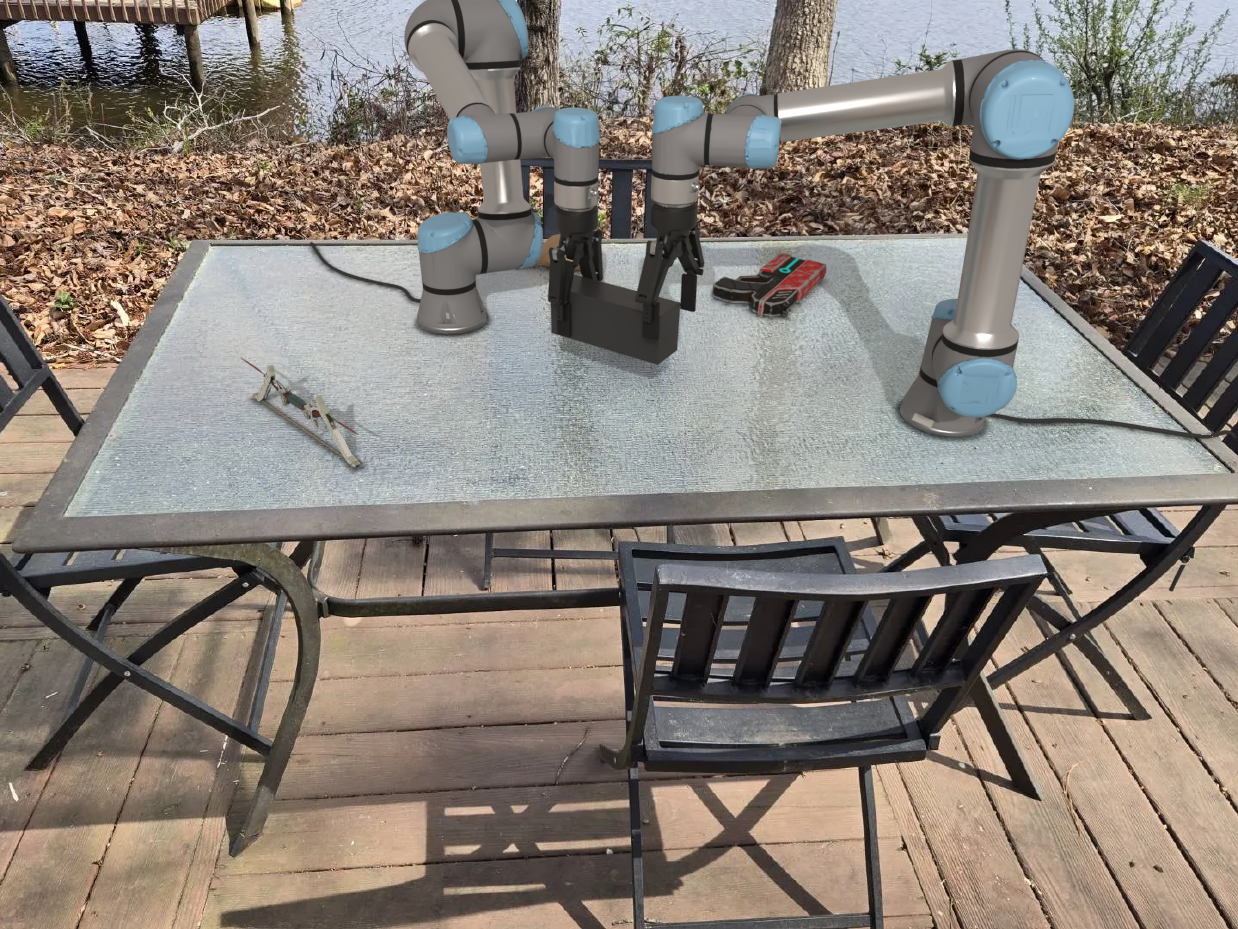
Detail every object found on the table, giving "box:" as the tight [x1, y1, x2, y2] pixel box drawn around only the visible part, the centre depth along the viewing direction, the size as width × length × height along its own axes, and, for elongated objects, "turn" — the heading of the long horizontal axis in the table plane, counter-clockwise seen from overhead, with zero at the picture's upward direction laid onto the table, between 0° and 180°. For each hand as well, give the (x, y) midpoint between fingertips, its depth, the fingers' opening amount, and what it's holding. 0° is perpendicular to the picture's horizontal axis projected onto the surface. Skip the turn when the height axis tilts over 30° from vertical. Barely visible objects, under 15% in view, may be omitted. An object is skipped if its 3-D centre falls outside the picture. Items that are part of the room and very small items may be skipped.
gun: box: [711, 252, 827, 318], centre depth 215 cm, size 4×31×19 cm
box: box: [550, 273, 681, 366], centre depth 158 cm, size 23×7×9 cm, turn 58°
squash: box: [534, 233, 580, 272], centre depth 224 cm, size 11×20×9 cm, turn 90°
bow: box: [240, 356, 362, 468], centre depth 154 cm, size 39×2×10 cm, turn 47°
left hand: (576, 327), depth 164 cm, fingers closed on box, 7 cm apart
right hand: (669, 323), depth 152 cm, fingers open, 13 cm apart
